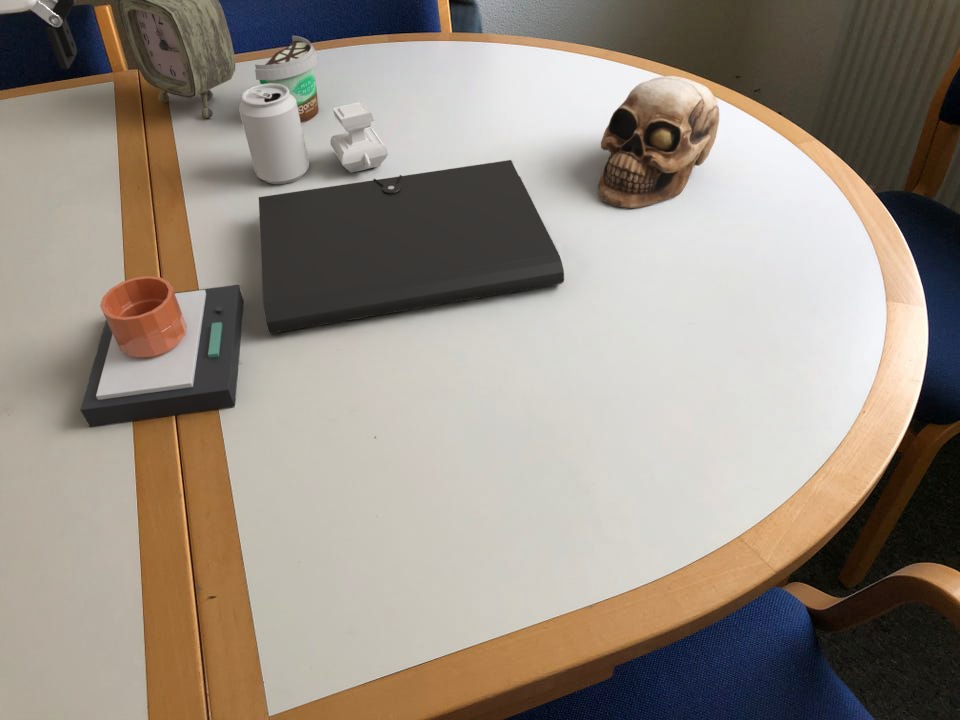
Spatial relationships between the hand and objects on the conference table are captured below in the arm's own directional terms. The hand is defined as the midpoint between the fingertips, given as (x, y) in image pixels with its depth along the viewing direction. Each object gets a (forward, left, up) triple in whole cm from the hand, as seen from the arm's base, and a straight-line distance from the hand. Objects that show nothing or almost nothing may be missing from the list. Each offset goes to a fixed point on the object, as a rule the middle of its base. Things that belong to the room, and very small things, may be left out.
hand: (17, 67), depth 78 cm
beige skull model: (+70, +8, -26) cm, 75 cm away
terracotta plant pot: (+8, -17, -23) cm, 29 cm away
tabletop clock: (+6, +46, -26) cm, 53 cm away
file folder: (+35, -3, -26) cm, 44 cm away
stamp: (+31, +20, -26) cm, 45 cm away
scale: (+9, -17, -26) cm, 32 cm away
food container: (+23, +38, -26) cm, 52 cm away
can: (+20, +20, -26) cm, 39 cm away
